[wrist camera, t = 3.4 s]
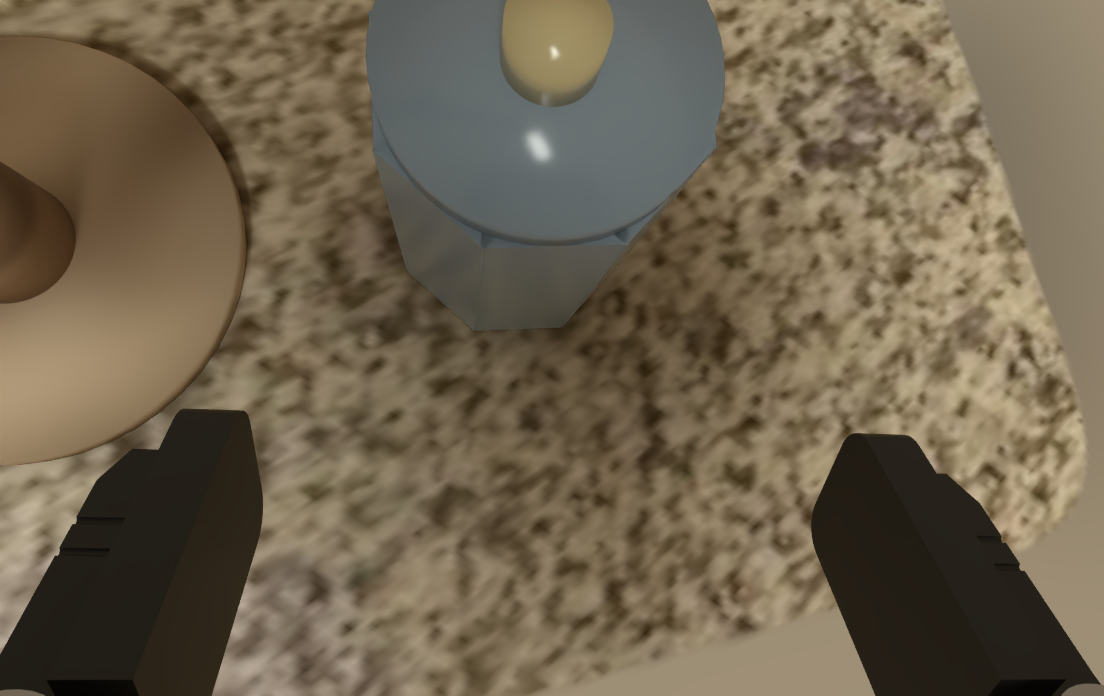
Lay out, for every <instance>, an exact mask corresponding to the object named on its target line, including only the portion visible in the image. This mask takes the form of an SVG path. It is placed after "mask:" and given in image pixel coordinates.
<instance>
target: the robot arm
mask: <svg viewBox="0 0 1104 696" xmlns="http://www.w3.org/2000/svg"><path fill="white" fill-rule="evenodd" d="M262 514H263V494H262V487H261V482H260V476H259V470H258V465H257V459H256V453H255V447H254V442H253V436H252V430H251V425H250V420H249V417H248V415H247V413H246V412H245V411H239V410H209V409H181V410H180V411H179V412H178V413H177V414H176V416H175V417H174V419H173V421H172V423H171V425H170V427H169V429H168V431H167V433H166V436H165V438H164V440H163V442H162V444H161V446H160V448H159V450H148V449H132V450H131V451H130V452H128V453H127V454H126V455H125V456H124V457H123V458H122V459H120V460H119V461H118V462H117V463H116V464H115V465H114V466H112V467H111V468H110V469H109V470H108V471H107V472H106V473H104V474H103V475H102V476H101V477H100V478H99V479H98V480H97V481H96V483H95V484H94V486H93V488H92V490H91V492H90V493H89V495H88V497H87V499H86V501H85V502H84V504H83V506H82V508H81V510H80V512H79V513H78V515H77V522H76V524H72V526H71V528H70V530H69V531H68V533H67V535H66V537H65V539H64V540H63V542H62V544H61V546H60V552H59V555H58V556H55V557H54V558H53V560H52V562H51V564H50V566H49V567H48V569H47V571H46V573H45V575H44V577H43V578H42V580H41V582H40V584H39V586H38V587H37V589H36V591H35V593H34V595H33V596H32V598H31V600H30V602H29V604H28V605H27V607H26V609H25V611H24V613H23V614H22V616H21V618H20V620H19V622H18V623H17V625H16V627H15V629H14V631H13V633H12V634H11V636H10V638H9V640H8V642H7V643H6V645H5V647H4V649H3V651H2V652H1V654H0V696H212V693H213V689H214V686H215V683H216V679H217V676H218V673H219V669H220V666H221V663H222V659H223V656H224V653H225V649H226V646H227V643H228V639H229V636H230V633H231V629H232V626H233V623H234V620H235V616H236V613H237V610H238V606H239V603H240V600H241V596H242V593H243V590H244V586H245V583H246V580H247V576H248V573H249V570H250V566H251V563H252V560H253V556H254V553H255V550H256V546H257V543H258V539H259V535H260V530H261V524H262ZM811 531H812V539H813V544H814V548H815V551H816V554H817V556H818V559H819V561H820V563H821V566H822V568H823V571H824V573H825V575H826V578H827V580H828V583H829V585H830V587H831V590H832V592H833V595H834V597H835V599H836V602H837V604H838V607H839V609H840V611H841V614H842V616H843V619H844V621H845V623H846V626H847V628H848V631H849V633H850V636H851V638H852V640H853V643H854V645H855V648H856V650H857V652H858V655H859V657H860V660H861V662H862V664H863V667H864V669H865V671H866V674H867V676H868V679H869V681H870V684H871V686H872V688H873V691H874V693H875V696H1104V686H1103V685H1101V684H1100V682H1099V681H1098V680H1097V678H1096V677H1095V676H1094V674H1093V673H1092V671H1091V670H1090V668H1089V667H1088V666H1087V664H1086V662H1085V661H1084V659H1083V658H1082V656H1081V655H1080V653H1079V652H1078V651H1077V649H1076V647H1075V646H1074V645H1073V643H1072V642H1071V640H1070V638H1069V637H1068V635H1067V634H1066V632H1065V631H1064V630H1063V628H1062V626H1061V625H1060V623H1059V622H1058V620H1057V619H1056V618H1055V616H1054V614H1053V613H1052V611H1051V610H1050V608H1049V607H1048V605H1047V604H1046V602H1045V601H1044V599H1043V598H1042V596H1041V595H1040V593H1039V592H1038V590H1037V589H1036V587H1035V586H1034V584H1033V583H1032V581H1031V580H1030V578H1029V577H1028V575H1027V574H1026V572H1025V571H1021V570H1020V569H1019V565H1020V563H1019V562H1018V560H1017V559H1016V557H1015V556H1014V554H1013V553H1012V551H1011V550H1010V548H1009V547H1008V545H1007V544H1006V543H1002V542H1001V535H1000V533H999V532H998V530H997V529H996V527H995V526H994V524H993V523H992V521H991V520H990V518H989V517H988V515H987V514H986V512H985V511H984V509H983V508H982V506H981V505H980V503H979V502H978V501H976V500H975V499H974V498H973V497H972V496H971V495H970V494H969V493H967V492H966V491H965V490H964V489H963V488H962V487H961V486H959V485H958V484H957V483H956V482H955V481H954V480H953V479H951V478H950V477H949V476H948V475H947V474H937V473H936V472H935V470H934V469H933V467H932V465H931V464H930V462H929V461H928V459H927V457H926V456H925V454H924V453H923V451H922V450H921V448H920V446H919V445H918V444H917V442H916V441H915V440H914V439H913V438H911V437H910V436H907V435H891V434H862V433H854V434H851V435H849V436H848V437H847V438H846V439H845V441H844V442H843V444H842V446H841V449H840V451H839V453H838V455H837V457H836V460H835V462H834V464H833V466H832V468H831V471H830V473H829V475H828V477H827V479H826V482H825V484H824V486H823V488H822V490H821V493H820V495H819V497H818V499H817V501H816V504H815V506H814V509H813V513H812V522H811Z"/></svg>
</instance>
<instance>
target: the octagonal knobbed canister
mask: <svg viewBox="0 0 1104 696" xmlns="http://www.w3.org/2000/svg"><path fill="white" fill-rule="evenodd" d="M368 16H369V27H368V32H367V43H366V64H367V74H368V82H369V86H370V91H371V95H372V122H373V149H372V150H373V153H374V157H375V160H376V164H377V167H378V171H379V175H380V178H381V182H382V185H383V189H384V192H385V196H386V199H387V203H388V206H389V210H390V213H391V217H392V221H393V224H394V228H395V231H396V235H397V238H398V242H399V245H400V249H401V252H402V256H403V259H404V263H405V267H406V270H407V272H408V273H410V274H411V275H412V276H413V277H414V278H415V279H416V280H417V281H418V282H420V283H421V284H422V285H423V286H424V287H425V288H426V289H427V290H428V291H430V292H431V293H432V294H433V295H434V296H435V297H436V298H437V299H438V300H440V301H441V302H442V303H443V304H444V305H445V306H446V307H447V308H449V309H450V310H451V311H452V312H453V313H454V314H455V315H456V316H457V317H459V318H460V319H461V320H462V321H463V322H464V323H465V324H466V325H467V326H469V327H470V328H471V329H472V330H473V331H486V330H510V329H534V328H558V327H561V328H562V327H563V326H564V325H565V324H566V322H567V321H568V320H569V319H570V318H571V317H572V315H573V314H574V313H575V312H576V311H577V310H578V309H579V308H580V307H581V305H582V304H583V303H584V302H585V301H586V300H587V299H588V298H589V297H590V296H591V294H592V293H593V292H594V291H595V290H596V289H597V288H598V287H599V286H600V284H601V283H602V282H603V281H604V280H605V279H606V278H607V277H608V276H609V274H610V273H611V272H612V271H613V270H614V269H615V268H616V267H617V266H618V265H619V264H620V263H621V262H622V260H623V259H624V258H625V257H626V256H627V254H628V253H629V252H630V251H631V250H632V248H633V247H634V246H635V245H636V244H637V242H638V241H639V240H640V239H641V238H642V236H643V235H644V234H645V233H646V232H647V230H648V229H649V228H650V227H651V226H652V224H653V223H654V222H655V221H656V219H657V218H658V217H659V216H660V215H661V213H662V212H663V211H664V210H665V209H666V207H667V206H668V205H669V204H670V203H671V201H672V200H673V199H674V198H675V197H676V195H677V194H678V193H679V192H680V191H681V189H682V188H683V187H684V186H685V185H686V183H687V182H688V181H689V180H690V179H691V177H692V176H693V175H694V174H695V173H696V171H697V170H698V169H699V168H700V167H701V165H702V164H703V163H704V162H705V160H706V159H707V158H708V157H709V156H710V154H711V153H712V152H713V151H714V150H715V148H716V146H717V145H716V137H715V128H716V125H717V123H718V119H719V115H720V111H721V107H722V103H723V94H724V84H725V69H724V55H723V49H722V43H721V37H720V34H719V31H718V27H717V24H716V21H715V17H714V15H713V13H712V10H711V8H710V6H709V4H708V2H707V0H375V3H374V6H373V9H372V11H371V12H369V13H368Z"/></svg>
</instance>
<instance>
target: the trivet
mask: <svg viewBox="0 0 1104 696" xmlns="http://www.w3.org/2000/svg"><path fill="white" fill-rule="evenodd" d="M0 161H1V162H2V163H4V164H5V165H7V166H9V167H10V168H12V169H13V170H15V171H16V172H18V173H19V174H21V175H22V176H24V177H26V178H27V179H29V180H30V181H32V182H33V183H35V184H36V185H38V186H40V187H41V188H43V189H44V190H46V191H47V192H49V193H50V194H52V195H53V196H54V197H56V198H57V199H58V200H59V201H60V202H61V203H62V204H63V205H64V207H65V208H66V210H67V211H68V213H69V215H70V217H71V219H72V222H73V225H74V229H75V238H76V242H75V250H74V254H73V258H72V260H71V263H70V265H69V267H68V268H67V270H66V272H65V273H64V275H63V276H62V277H61V278H60V279H59V280H58V282H57V283H56V284H55V285H53V286H52V287H51V288H50V289H48V290H47V291H45V292H44V293H42V294H40V295H38V296H36V297H34V298H32V299H29V300H26V301H22V302H17V303H9V304H0V465H22V464H30V463H38V462H46V461H52V460H56V459H60V458H64V457H68V456H73V455H77V454H80V453H83V452H86V451H88V450H91V449H94V448H96V447H99V446H102V445H104V444H107V443H109V442H111V441H113V440H115V439H117V438H119V437H121V436H123V435H125V434H127V433H129V432H131V431H133V430H134V429H136V428H138V427H139V426H141V425H142V424H144V423H145V422H147V421H148V420H149V419H151V418H152V417H154V416H155V415H157V414H158V413H160V412H161V411H162V410H163V409H164V408H166V407H167V406H168V405H169V404H170V403H171V402H172V401H174V400H175V399H176V398H177V397H178V396H179V395H180V394H182V393H183V392H184V391H185V389H186V388H187V387H188V386H189V385H190V384H191V383H192V381H193V380H194V379H195V378H196V377H197V376H198V375H199V374H200V372H201V371H202V370H203V369H204V367H205V366H206V364H207V363H208V361H209V360H210V358H211V357H212V355H213V354H214V353H215V351H216V350H217V348H218V347H219V345H220V343H221V341H222V339H223V337H224V335H225V333H226V331H227V329H228V327H229V325H230V323H231V320H232V317H233V314H234V312H235V309H236V306H237V303H238V300H239V297H240V293H241V288H242V283H243V278H244V273H245V263H246V246H247V243H246V230H245V218H244V213H243V209H242V205H241V200H240V196H239V192H238V189H237V187H236V184H235V181H234V179H233V176H232V173H231V171H230V168H229V167H228V165H227V163H226V161H225V159H224V157H223V156H222V154H221V152H220V150H219V148H218V147H217V145H216V144H215V142H214V141H213V140H212V138H211V137H210V136H209V134H208V133H207V132H206V130H205V129H204V128H203V126H202V125H201V124H200V122H199V121H198V120H197V119H196V117H195V116H194V115H193V113H192V112H191V111H190V110H189V109H188V108H187V107H186V106H185V105H184V104H183V103H182V102H181V101H180V100H179V99H178V98H177V97H176V96H175V95H174V94H173V93H172V92H170V91H169V90H168V89H166V88H165V87H164V86H163V85H161V84H160V83H159V82H158V81H156V80H155V79H154V78H153V77H151V76H149V75H148V74H146V73H144V72H143V71H141V70H139V69H138V68H136V67H134V66H133V65H131V64H129V63H127V62H125V61H123V60H121V59H118V58H116V57H114V56H112V55H109V54H107V53H105V52H102V51H99V50H96V49H93V48H90V47H86V46H83V45H80V44H76V43H72V42H67V41H61V40H55V39H50V38H42V37H27V36H2V37H0Z"/></svg>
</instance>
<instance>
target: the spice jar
mask: <svg viewBox="0 0 1104 696" xmlns="http://www.w3.org/2000/svg"><path fill="white" fill-rule="evenodd" d="M75 242H76V238H75V229H74V225H73V222H72V219H71V217H70V215H69V213H68V211H67V210H66V208H65V207H64V205H63V204H62V203H61V202H60V201H59V200H58V199H57V198H56V197H54V196H53V195H52V194H50V193H49V192H47V191H46V190H44V189H43V188H41V187H40V186H38V185H36V184H35V183H33V182H32V181H30V180H29V179H27V178H26V177H24V176H22V175H21V174H19V173H18V172H16V171H15V170H13V169H12V168H10V167H9V166H7V165H5V164H4V163H2V162H1V161H0V304H9V303H17V302H22V301H26V300H29V299H32V298H34V297H36V296H38V295H40V294H42V293H44V292H45V291H47V290H48V289H50V288H51V287H52V286H53V285H55V284H56V283H57V282H58V280H59V279H60V278H61V277H62V276H63V275H64V273H65V272H66V270H67V268H68V267H69V265H70V263H71V260H72V258H73V254H74V250H75Z"/></svg>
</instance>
